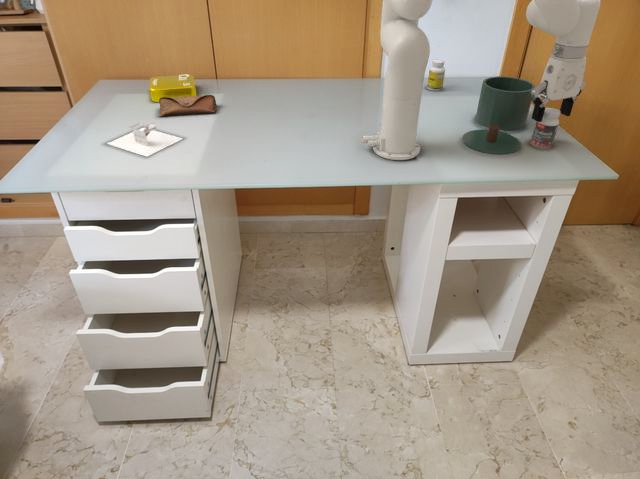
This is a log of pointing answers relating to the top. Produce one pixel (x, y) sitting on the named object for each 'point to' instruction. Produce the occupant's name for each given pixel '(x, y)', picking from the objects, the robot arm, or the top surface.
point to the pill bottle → (546, 128)
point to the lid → (491, 141)
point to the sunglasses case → (187, 105)
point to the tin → (504, 103)
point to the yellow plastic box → (172, 86)
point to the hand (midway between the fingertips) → (550, 117)
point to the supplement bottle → (436, 75)
